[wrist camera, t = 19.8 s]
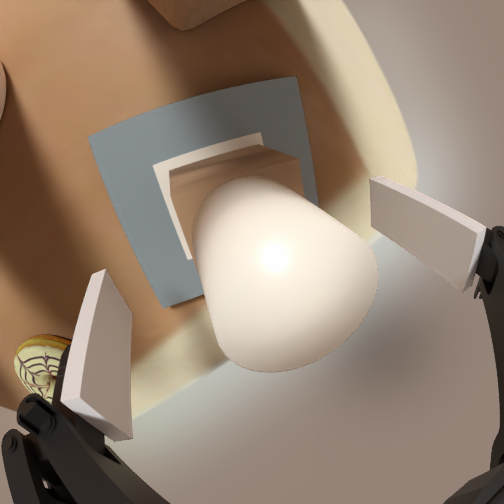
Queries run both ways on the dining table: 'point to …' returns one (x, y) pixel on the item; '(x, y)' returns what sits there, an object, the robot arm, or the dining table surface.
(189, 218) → the walnut cube
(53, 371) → the decorated donut
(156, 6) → the wooden block
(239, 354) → the marshmallow
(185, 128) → the slate board
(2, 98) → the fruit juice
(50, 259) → the dining table surface
